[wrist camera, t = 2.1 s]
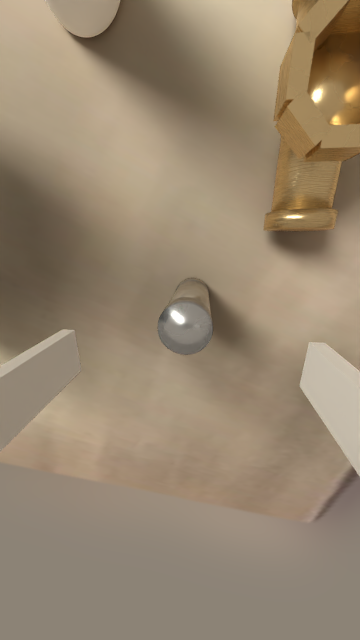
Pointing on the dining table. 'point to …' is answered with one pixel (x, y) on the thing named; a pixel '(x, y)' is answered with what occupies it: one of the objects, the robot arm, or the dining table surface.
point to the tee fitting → (316, 114)
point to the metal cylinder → (187, 318)
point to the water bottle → (84, 15)
